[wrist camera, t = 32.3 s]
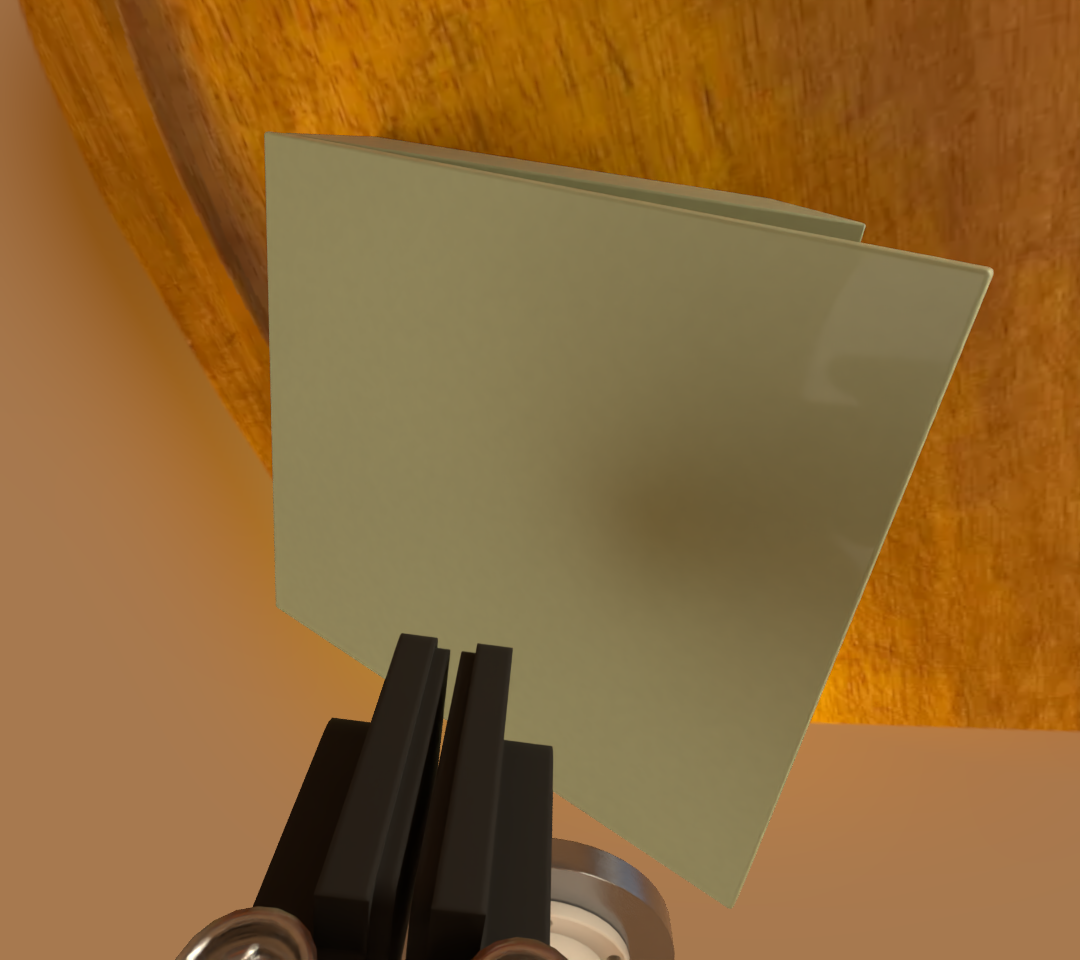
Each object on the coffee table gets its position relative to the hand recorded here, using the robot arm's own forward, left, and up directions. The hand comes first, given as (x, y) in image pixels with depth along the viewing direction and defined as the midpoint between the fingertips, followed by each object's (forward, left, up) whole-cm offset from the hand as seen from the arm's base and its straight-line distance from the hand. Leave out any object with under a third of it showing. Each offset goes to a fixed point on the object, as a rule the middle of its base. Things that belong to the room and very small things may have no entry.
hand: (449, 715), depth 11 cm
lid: (0, 0, -8) cm, 8 cm away
